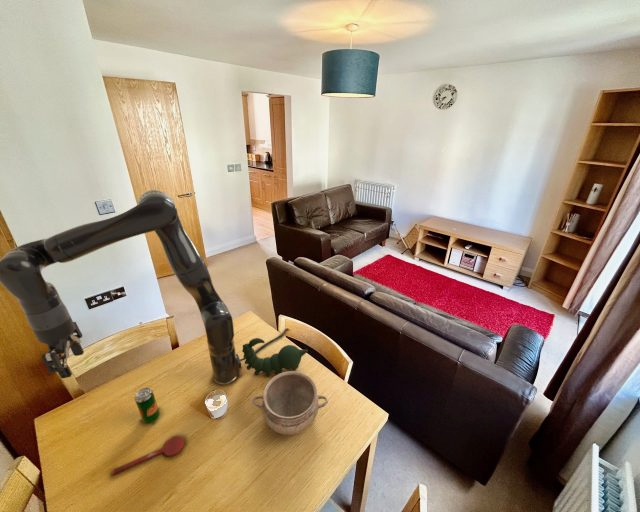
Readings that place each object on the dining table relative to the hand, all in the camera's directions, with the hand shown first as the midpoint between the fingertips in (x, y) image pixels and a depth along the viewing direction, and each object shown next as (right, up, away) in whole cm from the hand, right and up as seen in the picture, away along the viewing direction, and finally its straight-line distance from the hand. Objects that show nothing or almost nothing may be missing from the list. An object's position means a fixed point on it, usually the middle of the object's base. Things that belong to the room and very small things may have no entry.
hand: (73, 365), depth 78 cm
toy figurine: (+53, -16, +34) cm, 65 cm away
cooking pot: (+61, -25, +16) cm, 68 cm away
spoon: (+20, -29, +3) cm, 36 cm away
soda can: (+14, -24, +15) cm, 31 cm away
